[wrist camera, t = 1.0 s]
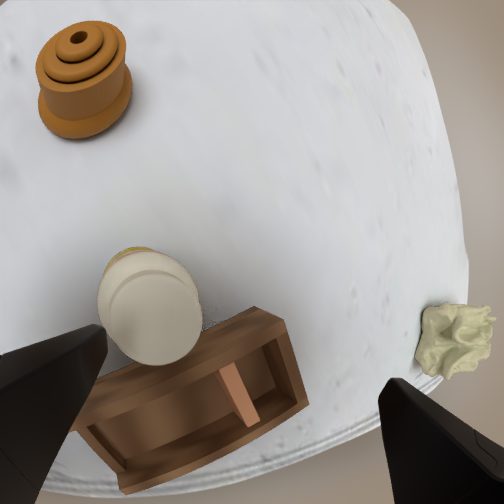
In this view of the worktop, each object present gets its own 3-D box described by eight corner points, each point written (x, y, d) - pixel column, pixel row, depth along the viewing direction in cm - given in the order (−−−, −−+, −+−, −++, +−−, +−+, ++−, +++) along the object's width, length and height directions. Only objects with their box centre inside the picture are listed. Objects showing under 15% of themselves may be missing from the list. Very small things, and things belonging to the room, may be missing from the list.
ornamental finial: (97, 48, 16) (149, 99, 19) (26, 104, 14) (76, 162, 16) (102, -17, 9) (171, 39, 11) (-1, 50, 7) (56, 120, 9)
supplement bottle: (101, 247, 18) (86, 255, 9) (173, 245, 20) (217, 252, 12) (106, 321, 18) (102, 384, 10) (175, 317, 21) (220, 370, 12)
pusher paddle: (232, 409, 22) (247, 427, 19) (205, 353, 21) (218, 369, 18) (244, 403, 22) (260, 420, 20) (218, 347, 21) (233, 361, 18)
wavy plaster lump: (386, 341, 44) (427, 395, 28) (414, 273, 41) (471, 309, 26) (449, 348, 45) (491, 389, 30) (475, 291, 42) (525, 321, 27)
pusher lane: (119, 462, 18) (126, 495, 14) (63, 392, 16) (56, 423, 12) (281, 384, 25) (309, 404, 21) (254, 306, 24) (283, 319, 20)
